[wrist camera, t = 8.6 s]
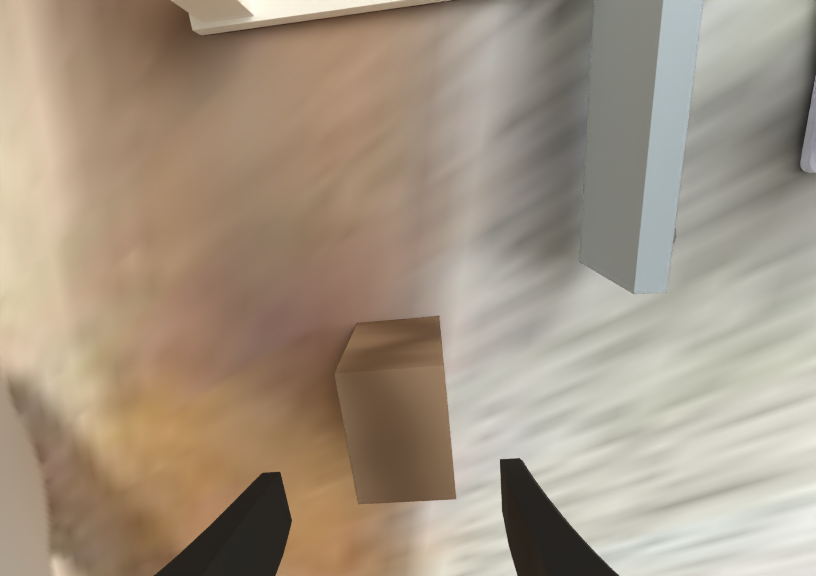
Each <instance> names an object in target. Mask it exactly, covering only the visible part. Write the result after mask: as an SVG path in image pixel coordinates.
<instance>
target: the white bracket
mask: <svg viewBox="0 0 816 576" xmlns="http://www.w3.org/2000/svg"><path fill="white" fill-rule="evenodd" d="M171 1H172V2H174V3H175V4H177V5H178V6H180V7H181V8H183V9H184V10H186V11H187V12H188V13H189V18H190V22H191V26H192V30H193V31H194V32H196V33H198V34H199V35H208V34H215V33H223V32H230V31H237V30H244V29H251V28H258V27H265V26H272V25H279V24H286V23H294V22H301V21H308V20H315V19H322V18H329V17H336V16H343V15H350V14H358V13H365V12H372V11H379V10H386V9H393V8H400V7H407V6H414V5H422V4H429V3H436V2H443V1H450V0H171Z"/></svg>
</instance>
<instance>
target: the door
mask: <svg viewBox="0 0 816 576" xmlns="http://www.w3.org/2000/svg"><path fill="white" fill-rule="evenodd" d="M703 1H704V0H594V11H593V29H592V47H591V65H590V82H589V100H588V118H587V136H586V153H585V171H584V189H583V207H582V224H581V242H580V260H579V262H580V263H582V264H584V265H586V266H587V267H589V268H591V269H592V270H594V271H596V272H597V273H599V274H601V275H602V276H604V277H606V278H607V279H609V280H611V281H613V282H614V283H616V284H618V285H619V286H621V287H623V288H624V289H626V290H628V291H629V292H631V293H633V294H644V293H663V292H667V286H668V278H669V270H670V262H671V254H672V246H673V243H674V241H675V238H676V229H675V223H676V215H677V207H678V199H679V191H680V183H681V175H682V167H683V159H684V151H685V143H686V135H687V127H688V120H689V112H690V104H691V96H692V88H693V80H694V72H695V64H696V56H697V48H698V40H699V32H700V24H701V16H702V9H703Z"/></svg>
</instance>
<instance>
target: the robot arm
mask: <svg viewBox="0 0 816 576" xmlns="http://www.w3.org/2000/svg"><path fill="white" fill-rule="evenodd" d="M800 164H801V168H802V170H803V171H805V172H807V173H816V77H815V83H814V88H813V94H812V99H811V105H810V111H809V116H808V122H807V127H806V133H805V139H804V144H803V150H802V155H801V161H800ZM500 472H501V495H502V512H503V517H504V523H505V528H506V533H507V538H508V543H509V548H510V551H511V555H512V558H513V561H514V565H515V568H516V572H517V575H518V576H619V575H618V574H617V573H616V572H615V571H614V570H613V569H612V568H610V567H609V566H608V565H607V564H606V563H605V562H604V561H603V560H602V559H601V558H600V557H599V556H598V555H597V554H596V553H595V551H594V550H593V549H592V548H591V547H590V546H589V545H588V544H587V543H586V542H585V541H584V540H583V539H582V538H581V536H580V535H579V534H578V533H577V532H576V531H575V530H574V529H573V527H572V526H571V525H570V524H569V523H568V522H567V520H566V519H565V518H564V517H563V516H562V514H561V513H560V512H559V511H558V509H557V508H556V507H555V506H554V504H553V503H552V502H551V501H550V499H549V498H548V497H547V495H546V494H545V493H544V492H543V490H542V489H541V487H540V486H539V485H538V483H537V482H536V480H535V479H534V478H533V476H532V475H531V473H530V472H529V470H528V469H527V467H526V465H525V464H524V462H523V461H522V460H521V459H520V458H516V459H500ZM291 522H292V519H291V515H290V511H289V506H288V502H287V498H286V494H285V490H284V486H283V482H282V478H281V473H280V472H270V473H262V474H261V475H260V476H259V477H258V478H257V479H256V480H255V481H254V482H253V483H252V484H251V485H250V486H249V487H248V488H247V489H246V490H245V491H244V492H243V493H242V494H241V495H240V496H239V497H238V498H237V499H236V500H235V501H234V502H233V503H232V504H231V505H230V506H229V507H228V508H227V509H226V510H225V511H224V512H223V513H222V514H221V515H220V516H219V517H218V518H217V519H216V520H215V521H214V522H213V523H212V524H211V525H210V526H209V527H208V528H207V529H206V530H205V531H204V532H203V533H201V534H200V535H199V536H198V537H197V538H196V539H195V540H194V541H193V542H192V543H191V544H190V545H189V546H188V547H186V548H185V549H184V550H183V551H182V552H181V553H180V554H179V555H178V556H177V557H175V558H174V559H173V560H172V561H171V562H170V563H168V564H167V565H166V566H165V567H164V568H163V569H161V570H160V571H159V572H158V573H157V574H155V575H154V576H275V575H276V573H277V570H278V567H279V565H280V562H281V559H282V557H283V553H284V550H285V546H286V542H287V539H288V535H289V530H290V526H291Z"/></svg>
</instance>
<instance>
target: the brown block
mask: <svg viewBox="0 0 816 576" xmlns="http://www.w3.org/2000/svg"><path fill="white" fill-rule="evenodd" d="M334 376H335V381H336V387H337V392H338V397H339V403H340V408H341V414H342V419H343V424H344V430H345V435H346V441H347V446H348V451H349V457H350V462H351V468H352V473H353V478H354V484H355V489H356V495H357V500H358V504H372V503H391V502H411V501H430V500H449V499H456V492H455V481H454V470H453V459H452V448H451V437H450V426H449V416H448V405H447V394H446V384H445V373H444V362H443V352H442V341H441V330H440V320H439V316H433V317H422V318H411V319H399V320H388V321H376V322H365V323H357V325H356V327H355V329H354V331H353V333H352V336H351V338H350V340H349V342H348V344H347V347H346V349H345V351H344V353H343V355H342V358H341V360H340V362H339V364H338V366H337V369H336V371H335V373H334Z"/></svg>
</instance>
